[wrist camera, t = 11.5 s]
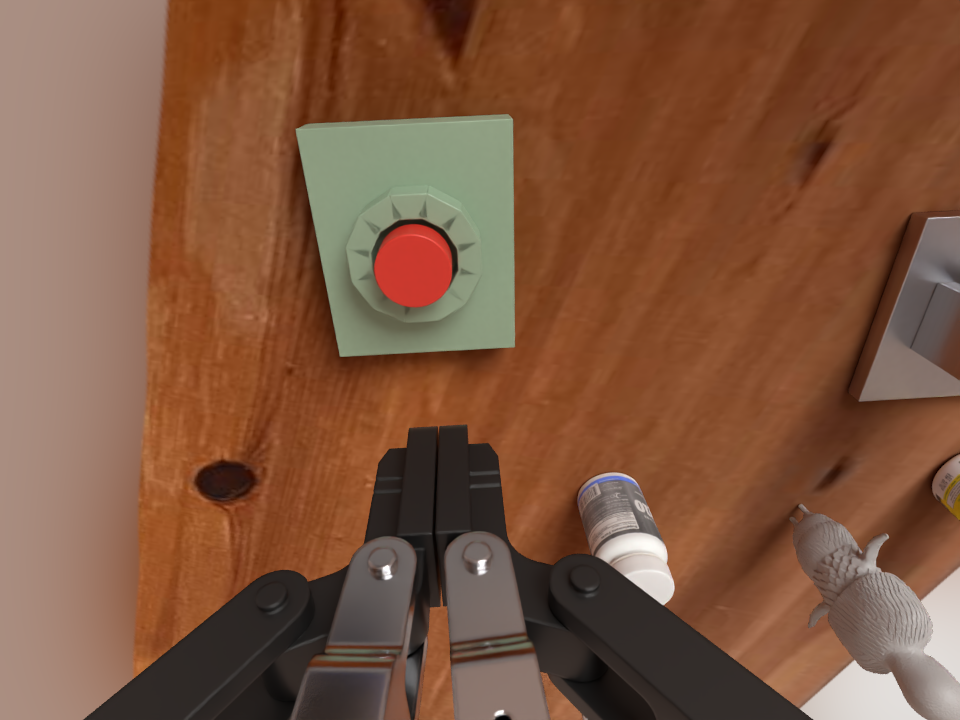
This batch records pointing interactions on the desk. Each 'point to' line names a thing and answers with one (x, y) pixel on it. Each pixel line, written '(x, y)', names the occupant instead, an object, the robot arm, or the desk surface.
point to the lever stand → (917, 317)
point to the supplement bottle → (948, 486)
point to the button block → (415, 200)
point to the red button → (413, 266)
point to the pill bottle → (625, 532)
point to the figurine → (874, 614)
